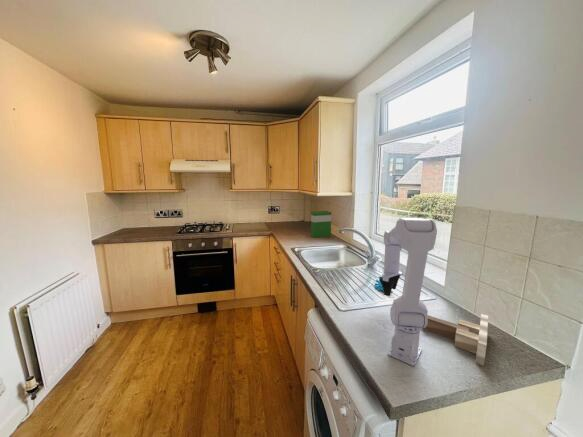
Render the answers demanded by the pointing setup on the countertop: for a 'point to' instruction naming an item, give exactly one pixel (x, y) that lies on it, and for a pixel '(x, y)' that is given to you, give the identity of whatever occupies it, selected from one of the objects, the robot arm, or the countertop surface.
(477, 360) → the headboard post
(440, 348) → the countertop surface
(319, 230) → the hardback book
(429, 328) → the bed rail
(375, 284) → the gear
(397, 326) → the robot arm
